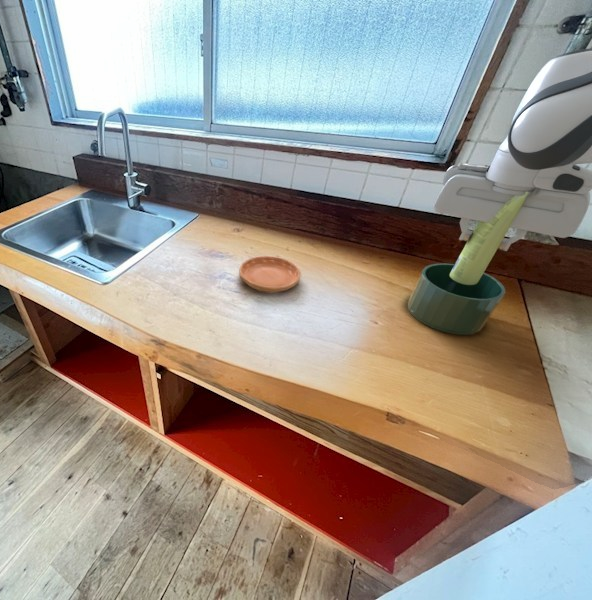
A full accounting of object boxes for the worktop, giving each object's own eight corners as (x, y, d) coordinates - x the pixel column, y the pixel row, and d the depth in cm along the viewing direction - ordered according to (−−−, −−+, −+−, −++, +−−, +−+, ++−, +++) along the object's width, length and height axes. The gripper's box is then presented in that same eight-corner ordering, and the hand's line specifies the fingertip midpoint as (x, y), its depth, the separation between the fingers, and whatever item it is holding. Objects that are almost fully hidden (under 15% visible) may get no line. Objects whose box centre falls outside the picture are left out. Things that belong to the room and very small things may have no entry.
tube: (486, 282, 66) (543, 185, 54) (472, 289, 64) (529, 191, 52) (456, 270, 70) (504, 178, 58) (442, 277, 68) (489, 183, 57)
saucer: (311, 281, 85) (313, 271, 83) (270, 304, 78) (272, 294, 76) (266, 259, 96) (267, 250, 94) (226, 277, 88) (226, 268, 86)
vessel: (489, 312, 72) (511, 279, 67) (473, 344, 64) (497, 309, 59) (419, 288, 81) (433, 257, 75) (398, 314, 73) (412, 281, 68)
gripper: (445, 164, 59) (417, 234, 67) (610, 185, 46) (551, 268, 54) (455, 158, 62) (427, 225, 70) (611, 175, 50) (555, 255, 58)
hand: (482, 244), depth 62 cm, fingers closed on tube, 5 cm apart
